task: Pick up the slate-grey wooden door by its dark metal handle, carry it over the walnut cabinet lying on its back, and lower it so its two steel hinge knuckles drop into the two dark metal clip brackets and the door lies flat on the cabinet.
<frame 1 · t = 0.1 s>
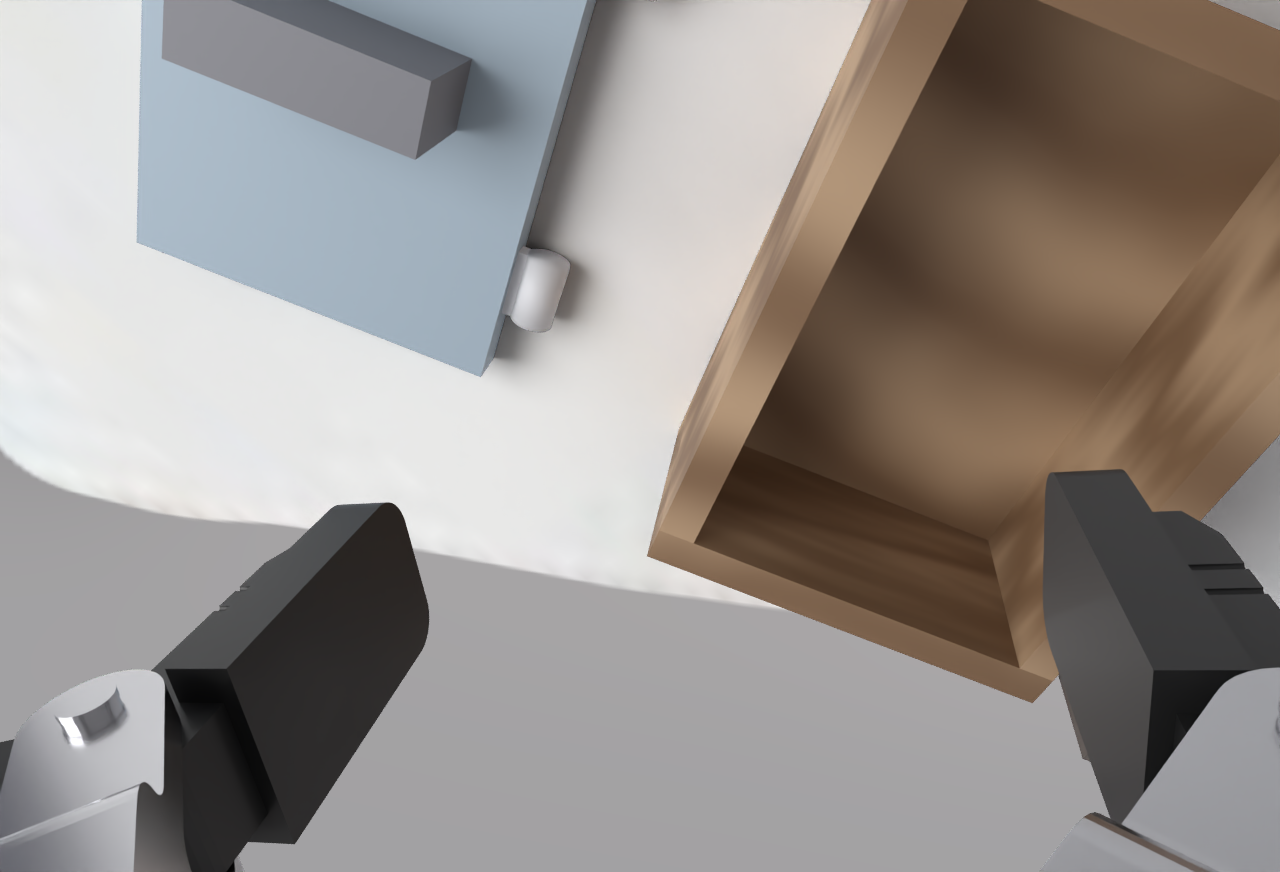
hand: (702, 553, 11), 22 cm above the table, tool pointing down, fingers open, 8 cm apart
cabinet: (965, 280, 32), on the table
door: (369, 40, 31), on the table
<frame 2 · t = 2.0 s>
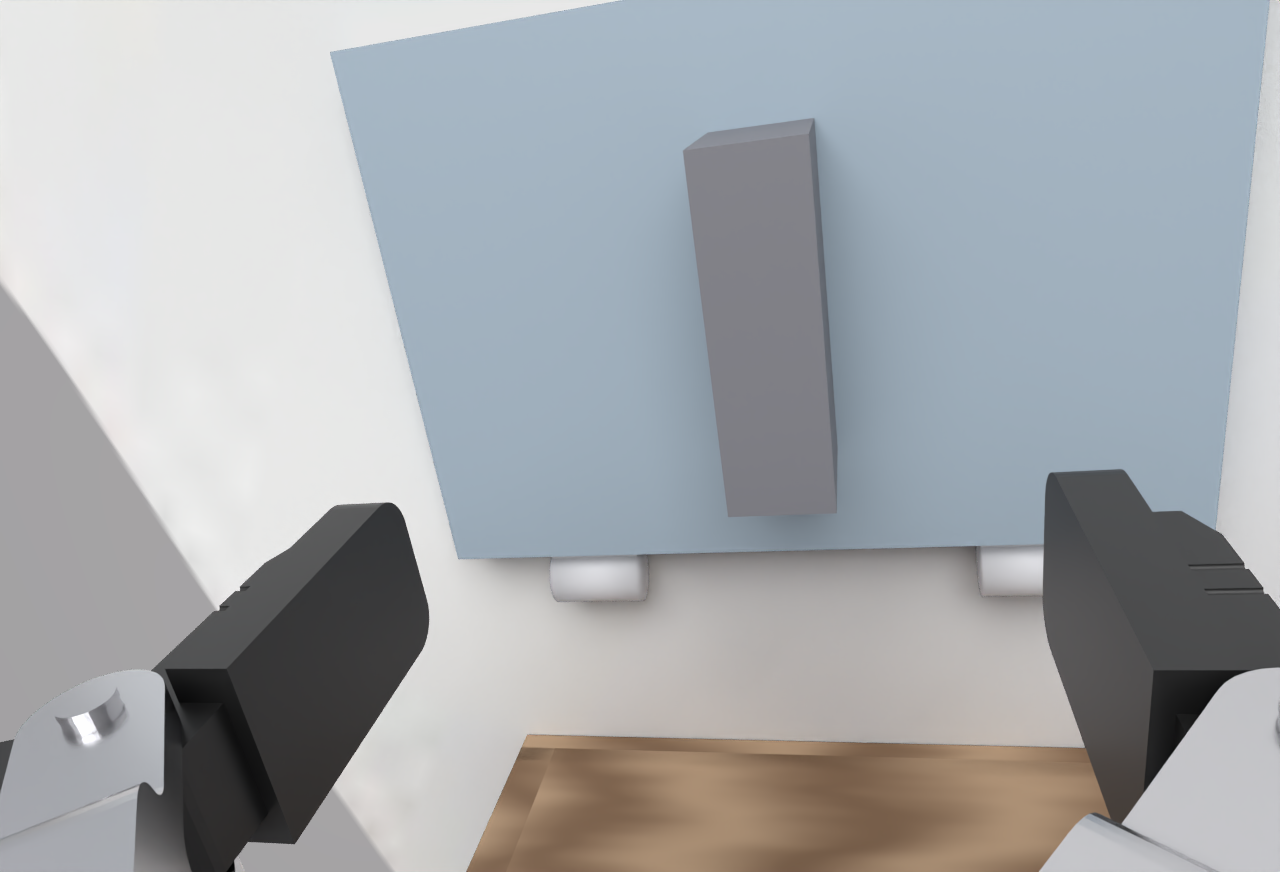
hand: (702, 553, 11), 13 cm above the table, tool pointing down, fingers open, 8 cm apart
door: (780, 282, 23), on the table
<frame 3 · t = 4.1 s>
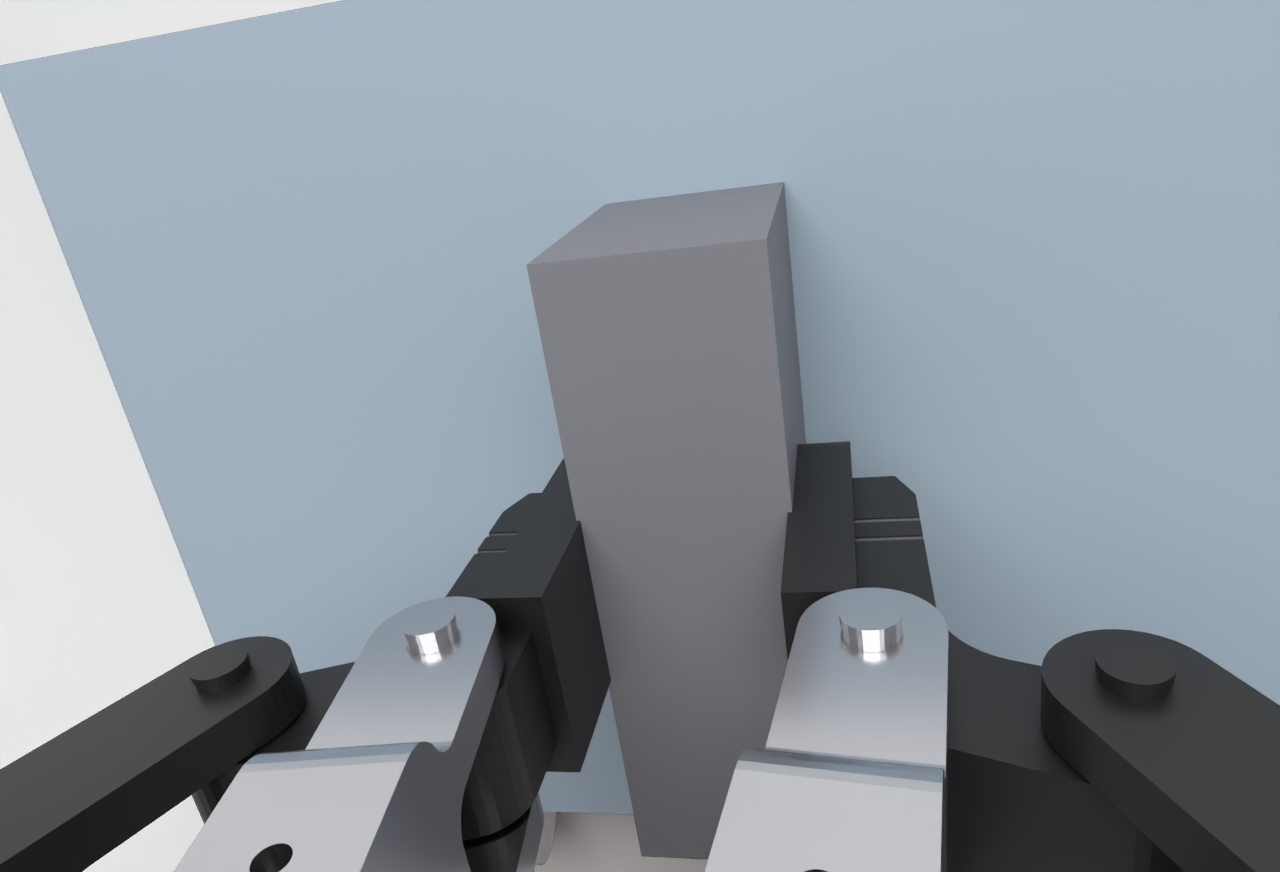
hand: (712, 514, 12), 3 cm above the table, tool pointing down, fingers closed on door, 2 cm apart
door: (736, 423, 15), on the table, touching gripper
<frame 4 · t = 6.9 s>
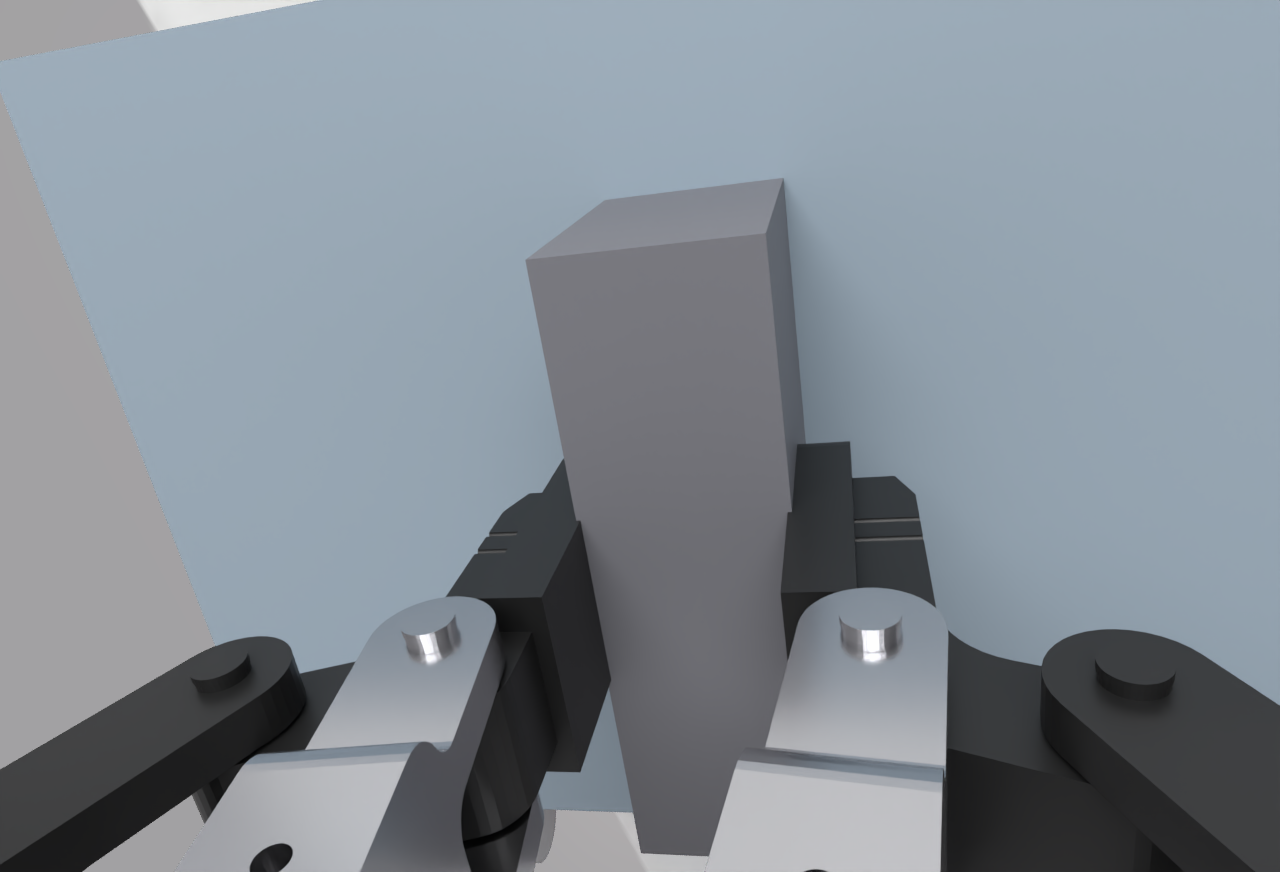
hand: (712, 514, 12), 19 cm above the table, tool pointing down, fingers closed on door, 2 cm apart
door: (735, 420, 15), point 16 cm above the table, touching gripper
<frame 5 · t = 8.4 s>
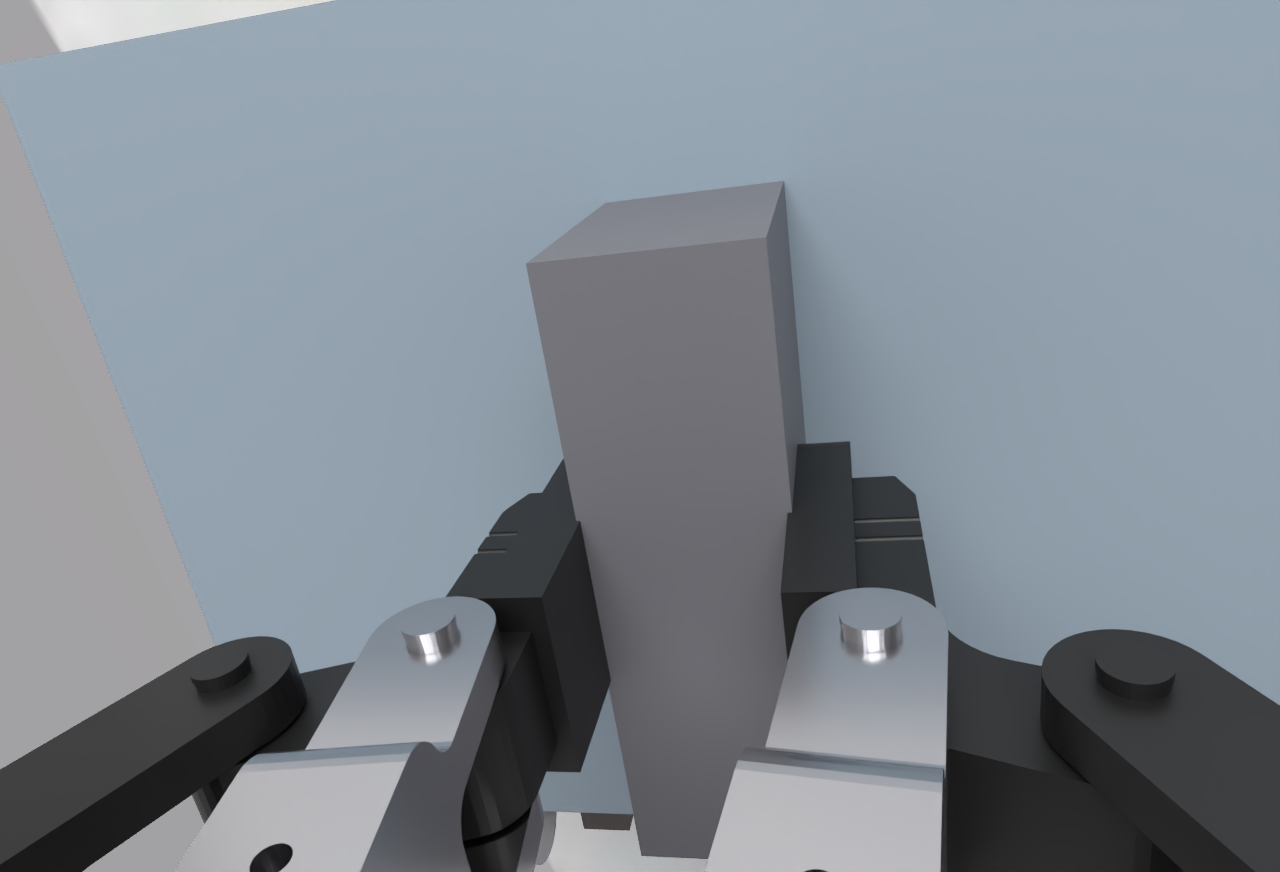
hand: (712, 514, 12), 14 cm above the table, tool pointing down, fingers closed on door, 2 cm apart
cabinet: (771, 269, 25), on the table
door: (735, 422, 15), point 11 cm above the table, touching gripper
when the fingers open (12 cm above the table, at t = 9.7 s): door drops 1 cm, resting on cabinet.
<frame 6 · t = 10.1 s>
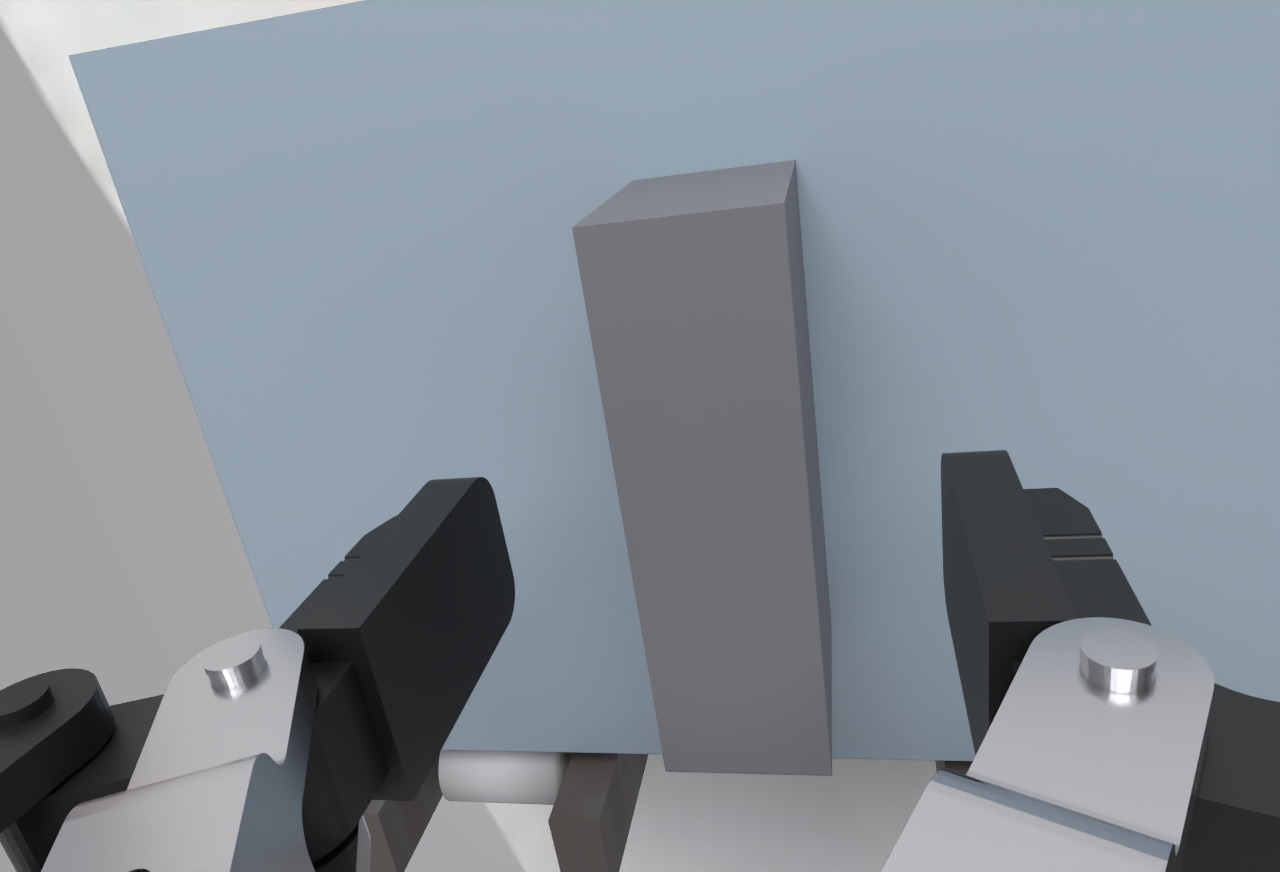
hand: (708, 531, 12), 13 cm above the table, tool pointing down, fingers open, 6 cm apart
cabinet: (768, 281, 24), on the table
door: (748, 387, 16), point 8 cm above the table, touching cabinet
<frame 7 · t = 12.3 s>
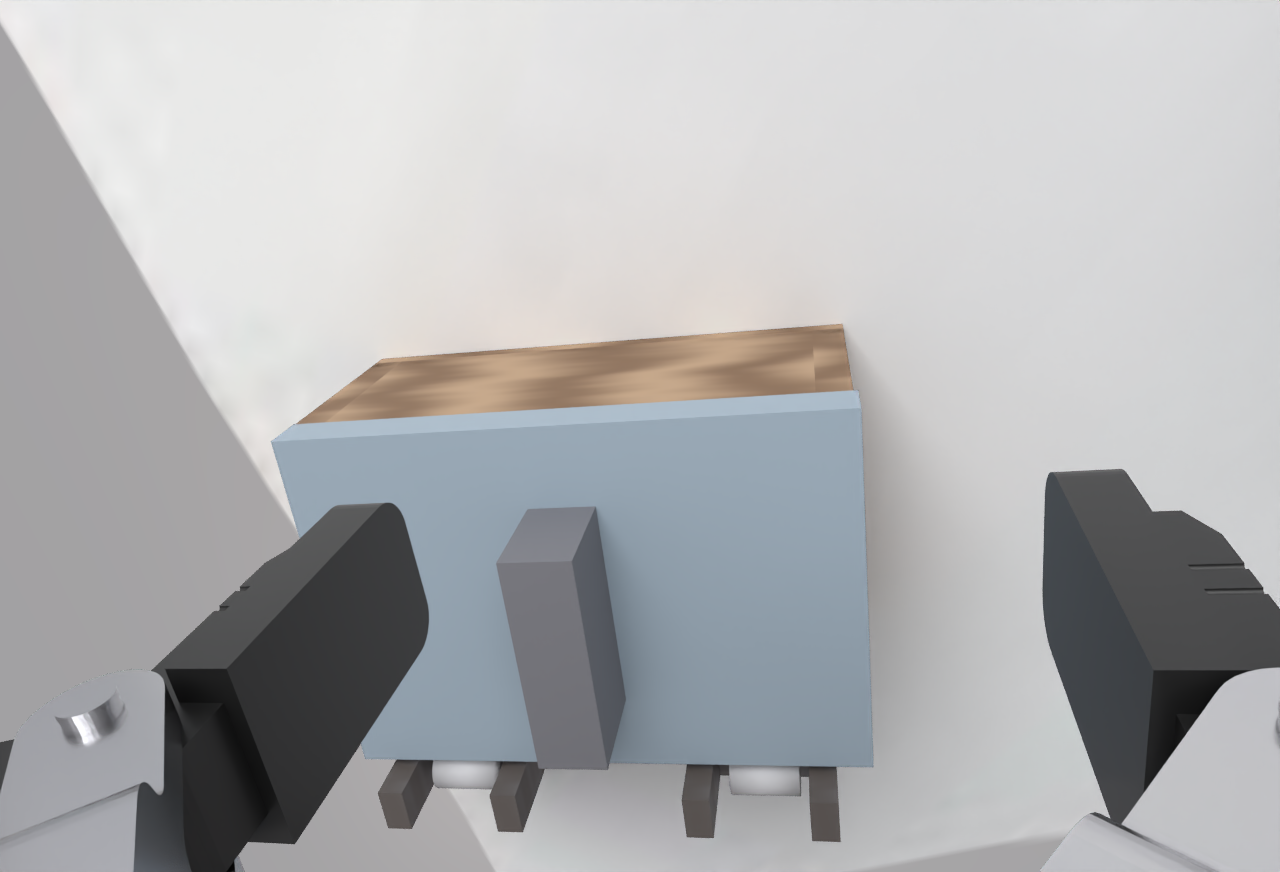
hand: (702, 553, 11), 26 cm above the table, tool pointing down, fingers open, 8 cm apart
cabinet: (622, 490, 41), on the table
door: (588, 583, 34), point 8 cm above the table, touching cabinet
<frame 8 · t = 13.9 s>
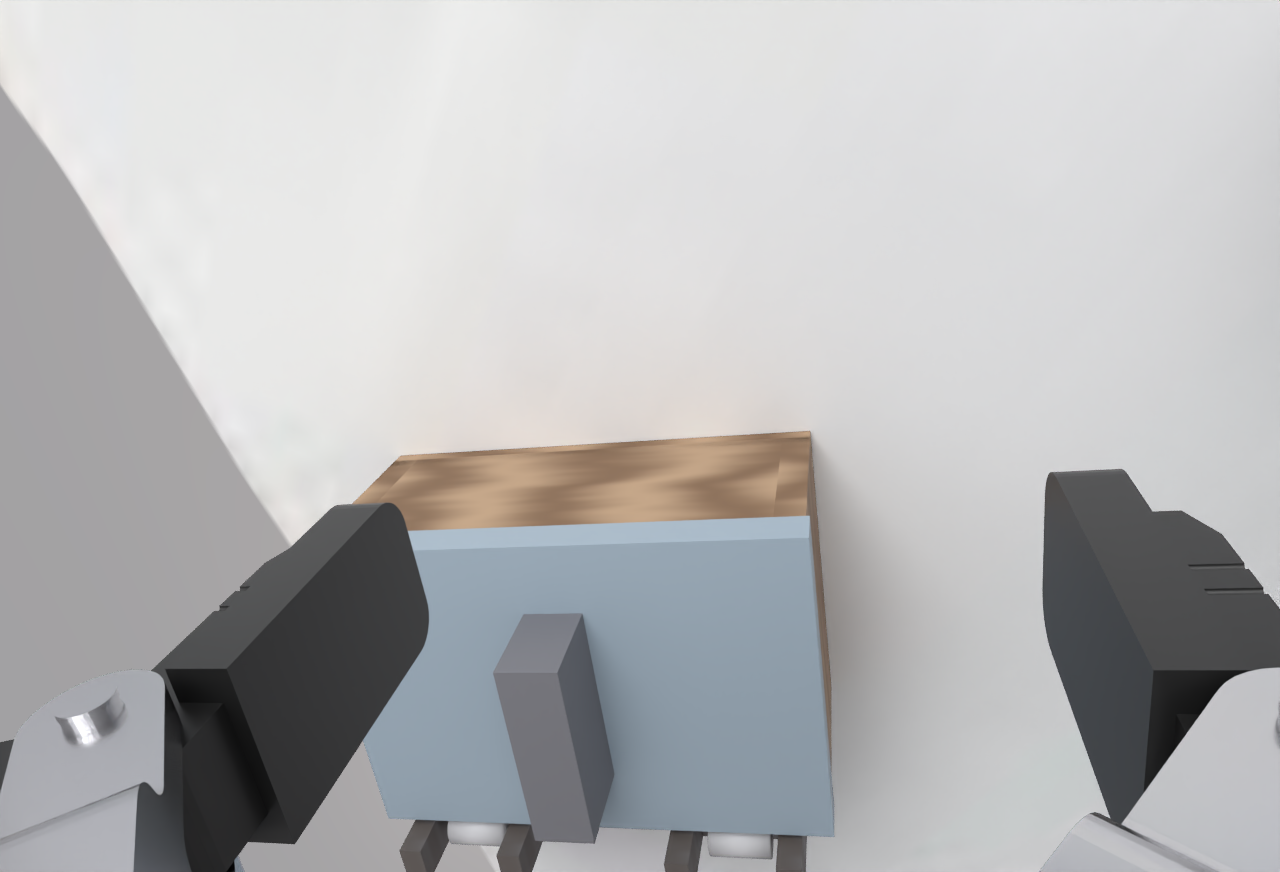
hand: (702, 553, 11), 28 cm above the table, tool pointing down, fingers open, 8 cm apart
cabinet: (617, 571, 45), on the table
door: (580, 671, 38), point 8 cm above the table, touching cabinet
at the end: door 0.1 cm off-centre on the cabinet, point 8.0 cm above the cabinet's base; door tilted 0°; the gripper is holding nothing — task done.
